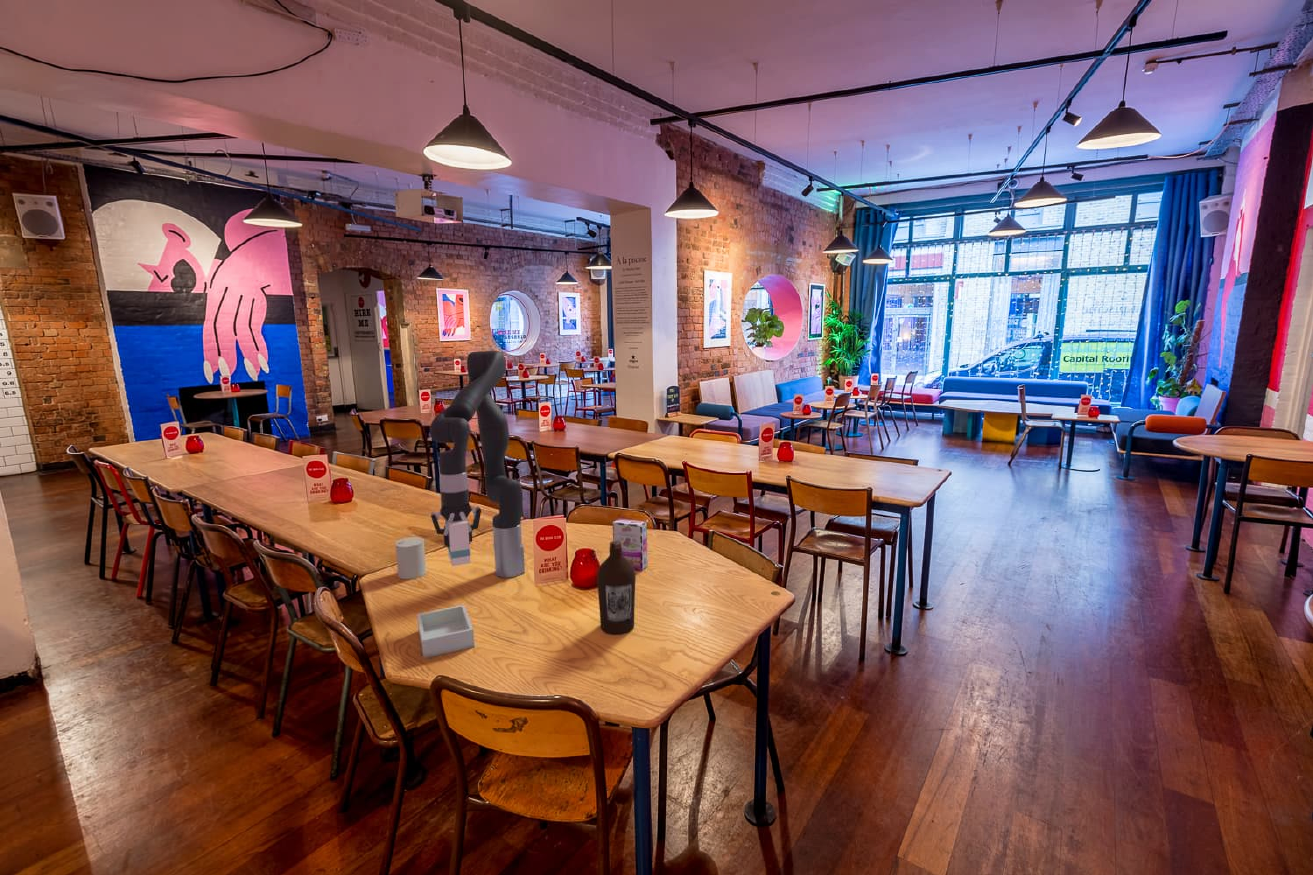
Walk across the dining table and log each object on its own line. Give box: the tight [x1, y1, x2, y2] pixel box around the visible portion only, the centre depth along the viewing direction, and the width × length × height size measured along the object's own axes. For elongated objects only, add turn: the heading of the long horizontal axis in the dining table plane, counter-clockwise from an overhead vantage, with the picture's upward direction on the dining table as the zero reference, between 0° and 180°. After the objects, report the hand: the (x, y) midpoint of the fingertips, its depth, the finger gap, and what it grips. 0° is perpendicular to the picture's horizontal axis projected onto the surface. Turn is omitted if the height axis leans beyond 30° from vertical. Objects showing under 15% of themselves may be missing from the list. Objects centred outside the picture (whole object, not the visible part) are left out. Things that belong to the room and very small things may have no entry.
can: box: [394, 536, 428, 580], centre depth 203 cm, size 9×9×12 cm
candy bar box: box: [612, 518, 649, 572], centre depth 207 cm, size 11×5×16 cm, turn 68°
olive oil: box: [596, 540, 637, 636], centre depth 165 cm, size 11×11×25 cm
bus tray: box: [416, 604, 475, 660], centre depth 162 cm, size 13×16×5 cm
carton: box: [447, 519, 472, 567], centre depth 171 cm, size 5×8×12 cm, turn 25°
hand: (458, 544), depth 172 cm, fingers closed on carton, 5 cm apart
